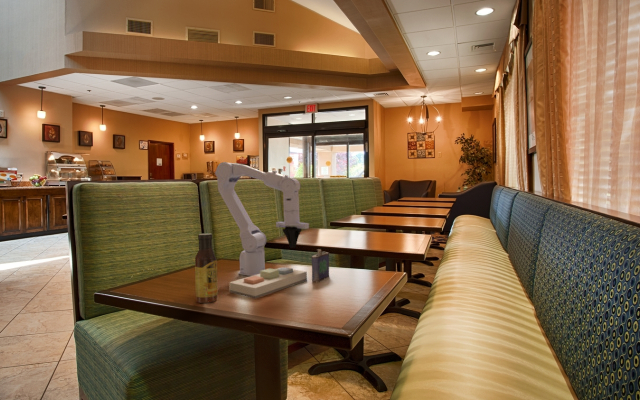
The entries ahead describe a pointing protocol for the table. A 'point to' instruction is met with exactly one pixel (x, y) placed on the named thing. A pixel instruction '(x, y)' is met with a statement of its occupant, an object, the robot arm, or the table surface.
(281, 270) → the slate key
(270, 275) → the sage key
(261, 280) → the terracotta key
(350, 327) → the table surface
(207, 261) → the sauce bottle
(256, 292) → the keypad base
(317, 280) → the flask
